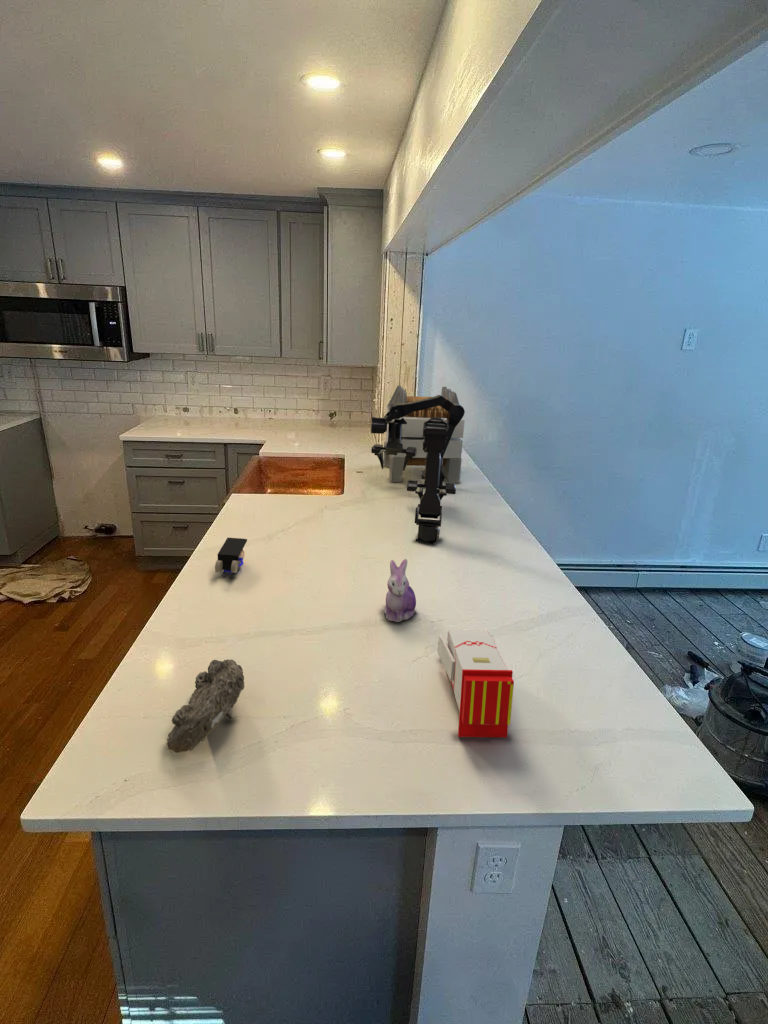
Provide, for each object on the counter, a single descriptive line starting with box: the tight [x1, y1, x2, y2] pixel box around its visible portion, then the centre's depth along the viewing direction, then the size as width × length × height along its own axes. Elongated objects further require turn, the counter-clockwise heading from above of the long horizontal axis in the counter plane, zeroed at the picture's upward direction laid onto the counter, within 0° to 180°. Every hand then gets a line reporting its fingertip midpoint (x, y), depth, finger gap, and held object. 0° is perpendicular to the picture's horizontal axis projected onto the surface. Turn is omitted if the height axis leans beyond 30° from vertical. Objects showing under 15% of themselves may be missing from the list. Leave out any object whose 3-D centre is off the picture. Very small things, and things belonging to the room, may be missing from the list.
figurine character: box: [214, 537, 248, 578], centre depth 166 cm, size 7×8×15 cm
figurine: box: [384, 558, 417, 623], centre depth 145 cm, size 9×10×15 cm
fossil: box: [166, 658, 245, 754], centre depth 106 cm, size 22×10×15 cm
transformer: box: [383, 384, 465, 484], centre depth 268 cm, size 34×33×41 cm
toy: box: [437, 628, 515, 738], centre depth 117 cm, size 12×13×30 cm
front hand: (429, 508), depth 221 cm, fingers closed on canister, 5 cm apart
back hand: (393, 469), depth 243 cm, fingers open, 9 cm apart
